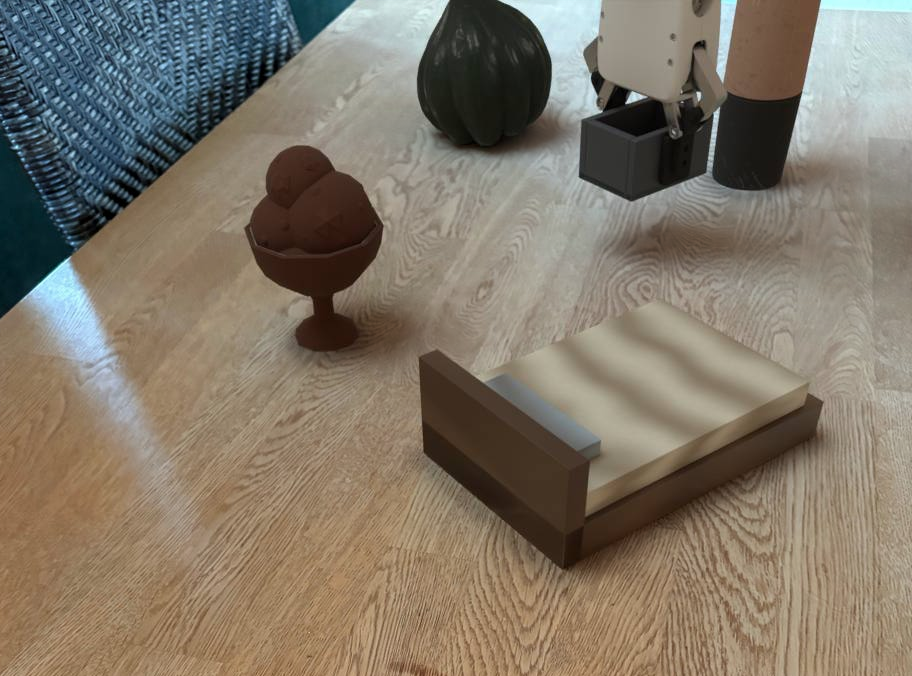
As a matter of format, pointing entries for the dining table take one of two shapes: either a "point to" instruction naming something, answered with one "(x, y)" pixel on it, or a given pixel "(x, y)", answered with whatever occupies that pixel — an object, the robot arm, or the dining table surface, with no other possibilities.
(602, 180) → the basket
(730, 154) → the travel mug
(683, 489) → the bed
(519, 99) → the squash
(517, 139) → the dining table surface
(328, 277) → the ice cream bowl
